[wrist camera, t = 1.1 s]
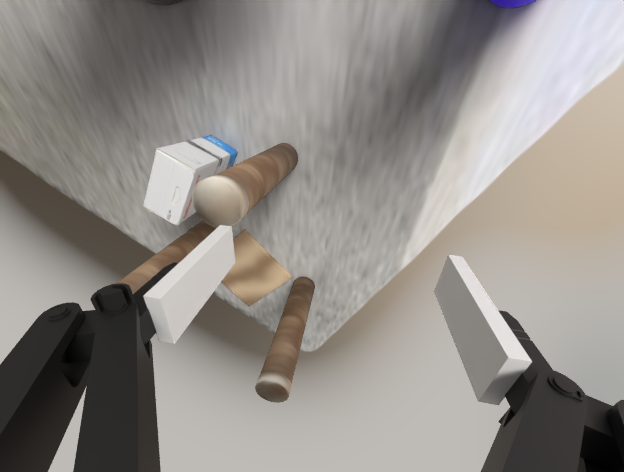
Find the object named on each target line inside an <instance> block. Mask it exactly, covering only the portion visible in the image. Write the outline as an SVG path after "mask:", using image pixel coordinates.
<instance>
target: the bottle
mask: <svg viewBox="0 0 624 472" xmlns="http://www.w3.org/2000/svg"><path fill="white" fill-rule="evenodd" d="M490 1H491V2H492V3H494V4H495V5H497V6H500V7H504V8H515V7H520V6H523V5H526V4H529V3H531V2H534V1H536V0H490Z"/></svg>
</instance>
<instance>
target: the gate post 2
mask: <svg viewBox="0 0 624 472" xmlns="http://www.w3.org/2000/svg"><path fill="white" fill-rule="evenodd" d="M297 162H298V155H297V152H296V150H295V149H294V148H293V147H292V146H291V145H289V144H286V143H281V144H278V145H276V146H274V147H272V148H270V149H268V150H266V151H264V152H262V153H259V154H257V155H255V156H253V157H251V158H249V159H247V160H245V161H243V162H241V163H239V164H236V165H234V166H232V167H230V168H228V169H226V170H224V171H222V172H220V173H218V174H216V175H212V176H210V177H208V178H206V179H204V180H201V181H200V182H199V183H197V184H196V186H195V187H194V190H193V193H192V202H193V206H194V208H195V210H196V212H197V214H198V215H199V216H200V218H201V219H202V220H203V221H205V222H206V223H207V224H209V225H211V226H213V227H216V228H218V227H219V226H220V225H224V226H232V227H233V226H235V225H236V224H237V223H238V222H239V221H240V220H241V219H242V218H243V217H244V216H245V215H246V214H247V213H248V212H249V211H250V210H251V209H252V208H253V207H254V206H255V205H256V204H257V203H258V202H259V201H260V200H261V199H262V198H263V197H264V196H265V195H266V194H267V193H269V192H270V191H271V190H272V189H273V188H274V187H275V186H276V185H277V184H278V183H279V182H280V181H281V180H282V179H283V178H284V177H285V176H286V175H287V174H288V173H289V172H290V171H291V170H292V169H294V167H295V166H296V165H297Z"/></svg>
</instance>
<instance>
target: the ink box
mask: <svg viewBox="0 0 624 472" xmlns="http://www.w3.org/2000/svg"><path fill="white" fill-rule="evenodd" d="M237 153H238V152H237V151H236V150H235V149H233V148H232V147H230V146H228V145H227V144H225V143H224V142H222V141H220V140H219V139H217V138H215V137H213V136H211V135H209V136H206V137H201V138H197V139H193V140H189V141H185V142H181V143H177V144H173V145H169V146H164V147H160V148H156V153H155V157H154V161H153V166H152V170H151V174H150V179H149V183H148V188H147V192H146V196H145V201H144V205H143V207H144V208H145V209H147V210H149V211H150V212H152V213H154V214H156V215H158V216H160V217H162V218H163V219H165V220H167V221H169V222H170V223H172V224H174V225H176V226H178V225H179V224H180V223H182V222H183V221H184V220H186V219H187V218H189V217H190V216H191V215H193V214H194V213H196V210H195V208H194V206H193V202H192V193H193V190H194V187H195V186H196V184H197V183H199V182H200V181H201V180H204V179H206V178H208V177H210V176H212V175H216V174H218V173H220V172H222V171H224V170H226V169H228V168H230V167H232V165H233V162H234V160H235V158H236V155H237Z"/></svg>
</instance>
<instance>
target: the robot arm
mask: <svg viewBox="0 0 624 472" xmlns="http://www.w3.org/2000/svg"><path fill="white" fill-rule="evenodd" d="M145 1H147V2H150V3H153V4H158V5H170V4H174V3H177V2H179V1H182V0H145ZM234 264H235V253H234V243H233V234H232V226H224V225H220V226H219V227H218V228H216V229H215V230H214V231H213V232H212V233H211V234H210V235H209V236H208V237H207V238H206V239H205V240H203V241H202V242H201V243H200V244H199V245H198V246H197V247H196V248H195V249H194V250H193V251H191V252H190V253H189V254H188V255H187V256H186V257H185V258H184V259H183V260H182V261H181V262H180V263H176V262H173V263H171V264H169V265H167V266H165V267H164V268H163V269H161V270H160V271H159V272H158V273H157V275H155V276H153V277H152V278H151V280H149V281H148V282H147V283H145V284H144V285H143V286H142V287H141V288H140V289H138V290H137V291H136V292H135V293H134V294H133V293H132V290H131V288H130V286H129V285H127V284H124V283H117V284H112V285H109V286H106V287H103V288H102V289H100V290H98V291H97V292H96V293H94V294H93V296H92V297H91V301H92V304H93V305H94V307H95V309H96V310H91V311H82V309H81V307H80V306H79V304H77V303H64V304H60V305H57V306H54V307H52V308H50V309H48V310H47V311H45V312H43V313H42V314H41V315H40V316H39V317H38V318H37V319H36V321H35V322H34V323H33V325H32V326H31V327H30V328H29V330H28V331H27V332H26V333H25V335H24V336H23V337H22V338H21V339H20V341H19V342H18V343H17V344H16V346H15V347H14V348H13V349H12V351H11V352H10V353H9V354H8V356H7V357H6V358H5V359H4V361H3V362H2V363H1V365H0V472H48V470H49V468H50V465H51V463H52V460H53V459H54V456H55V454H56V452H57V450H58V448H59V445H60V443H61V441H62V439H63V437H64V434H65V432H66V430H67V428H68V425H69V423H70V421H71V419H72V417H73V414H74V412H75V410H76V408H77V406H78V403H79V401H80V399H81V396H82V394H83V392H84V390H85V388H86V386H87V388H86V394H85V400H84V407H83V413H82V420H81V426H80V433H79V439H78V445H77V452H76V459H75V465H74V471H73V472H160V457H159V443H158V429H157V414H156V399H155V385H154V370H153V357H152V356H153V355H152V344H151V341H150V339H151V338H152V337H153V335H154V334H155V333H156V334H157V337H158V340H159V341H160V342H166V343H171V344H175V343H176V341H177V340H178V339H179V337H180V336H181V335H182V333H183V332H184V331H185V329H186V328H187V327H188V325H189V324H190V323H191V321H192V320H193V319H194V317H195V316H196V315H197V313H198V312H199V311H200V309H201V308H202V307H203V305H204V304H205V303H206V301H207V300H208V299H209V297H210V296H211V294H212V293H213V292H214V290H215V289H216V288H217V286H218V285H219V284H220V282H221V281H222V280H223V278H224V277H225V276H226V274H227V273H228V272H229V270H230V269H231V268H232V266H233V265H234ZM434 292H435V295H436V297H437V300H438V302H439V305H440V307H441V310H442V312H443V315H444V317H445V320H446V322H447V325H448V327H449V330H450V332H451V335H452V337H453V340H454V342H455V345H456V347H457V350H458V352H459V355H460V357H461V360H462V362H463V364H464V367H465V370H466V372H467V375H468V377H469V380H470V382H471V385H472V387H473V390H474V392H475V395H476V397H477V400H478V401H479V402H484V403H489V404H494V405H499V404H500V402H501V401H502V400H503V399H504V397H506V399H507V401H508V403H509V405H510V408H509V410H508V411H507V412H506V413H505V414H504V416H503V417H502V418H501V419H500V420H499V423H501V426H500V428H499V431H498V433H497V436H496V438H495V440H494V442H493V445H492V447H491V449H490V452H489V454H488V456H487V459H486V461H485V463H484V466H483V468H482V470H481V472H624V400H621V401H619V402H618V403H616V404H615V405H614V406H611V405H609V404H606V403H604V402H601V401H599V400H596V399H594V398H592V397H589V396H587V395H585V393H584V392H583V391H582V389H581V388H580V387H579V386H578V385H577V384H576V383H575V382H573V381H572V380H570V379H569V378H567V377H566V376H565V375H563V374H561V373H558V372H556V371H553V370H552V368H551V367H550V365H549V364H548V363H547V361H546V360H545V358H544V357H543V356H542V354H541V353H540V352H539V350H538V349H537V347H536V346H535V345H534V343H533V342H532V341H530V338H529V336H528V335H527V333H525V332H524V329H523V328H522V327H521V325H520V324H519V322H518V321H517V320H516V319H515V318H513V317H512V316H511V315H510V314H509V313H508V312H505V311H499V310H497V308H496V307H495V305H494V304H493V302H492V301H491V299H490V298H489V296H488V295H487V293H486V292H485V290H484V289H483V287H482V286H481V284H480V283H479V281H478V280H477V278H476V277H475V275H474V274H473V272H472V271H471V269H470V268H469V266H468V265H467V263H466V261H465V260H464V258H463V257H461V256H453V255H448V257H447V260H446V262H445V265H444V268H443V270H442V273H441V275H440V278H439V280H438V283H437V286H436V288H435V291H434Z"/></svg>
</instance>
